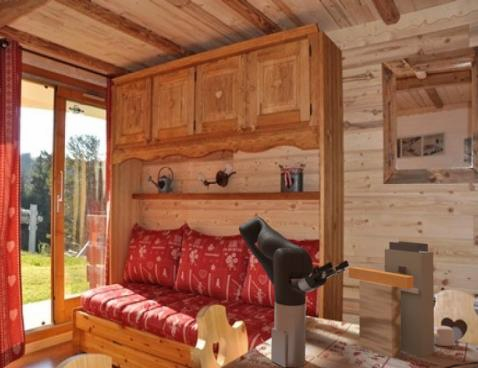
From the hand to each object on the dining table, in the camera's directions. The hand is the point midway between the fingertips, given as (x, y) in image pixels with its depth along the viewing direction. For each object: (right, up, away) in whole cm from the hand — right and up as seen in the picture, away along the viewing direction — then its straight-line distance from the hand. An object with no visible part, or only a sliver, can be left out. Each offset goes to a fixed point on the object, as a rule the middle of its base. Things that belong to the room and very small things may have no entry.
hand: (339, 263), depth 141 cm
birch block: (+9, -25, -15) cm, 30 cm away
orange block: (+9, -3, -14) cm, 17 cm away
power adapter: (+30, -26, -9) cm, 41 cm away
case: (+19, -25, -14) cm, 34 cm away
